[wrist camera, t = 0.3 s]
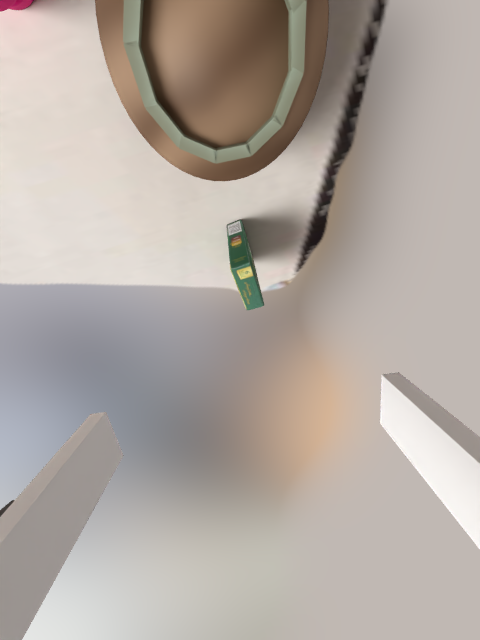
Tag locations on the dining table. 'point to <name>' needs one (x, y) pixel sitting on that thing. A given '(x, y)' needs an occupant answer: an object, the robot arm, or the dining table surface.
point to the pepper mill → (14, 4)
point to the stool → (215, 76)
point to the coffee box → (243, 266)
